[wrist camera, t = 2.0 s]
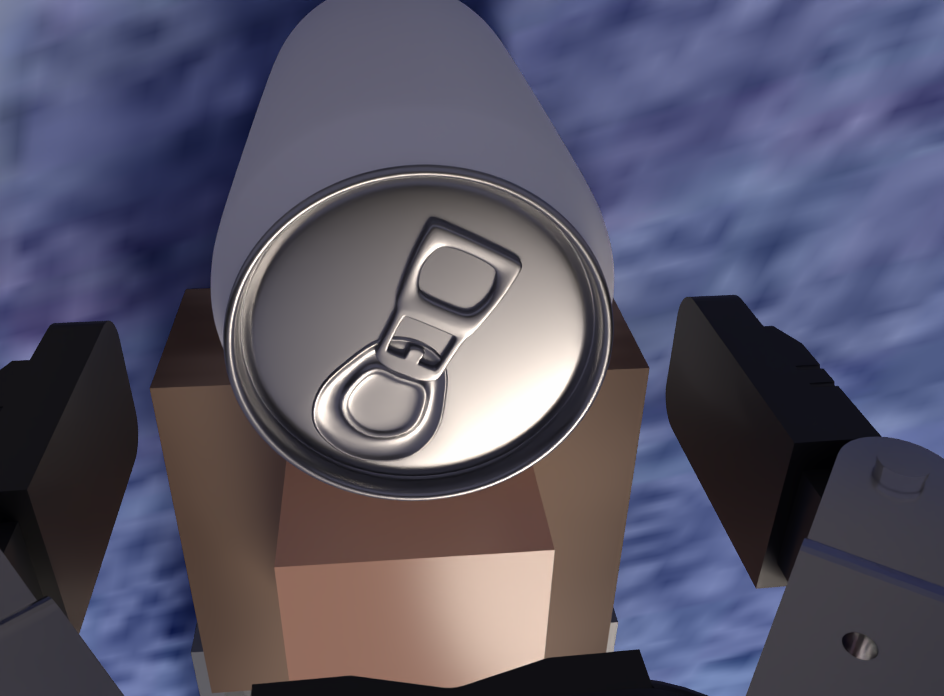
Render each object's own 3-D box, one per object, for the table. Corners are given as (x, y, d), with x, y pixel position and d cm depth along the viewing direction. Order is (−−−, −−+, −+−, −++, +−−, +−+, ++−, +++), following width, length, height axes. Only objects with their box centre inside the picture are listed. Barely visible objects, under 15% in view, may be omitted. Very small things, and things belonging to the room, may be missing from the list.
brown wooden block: (602, 277, 26) (649, 368, 22) (571, 549, 32) (604, 663, 28) (185, 289, 25) (149, 388, 21) (232, 570, 30) (211, 693, 26)
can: (229, 164, 23) (127, 445, 13) (331, -76, 20) (302, 40, 10) (446, 260, 25) (505, 567, 15) (564, 55, 23) (732, 258, 12)
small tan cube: (525, 438, 22) (555, 550, 19) (514, 602, 26) (537, 723, 22) (287, 449, 22) (273, 567, 18) (305, 617, 25) (297, 743, 22)
